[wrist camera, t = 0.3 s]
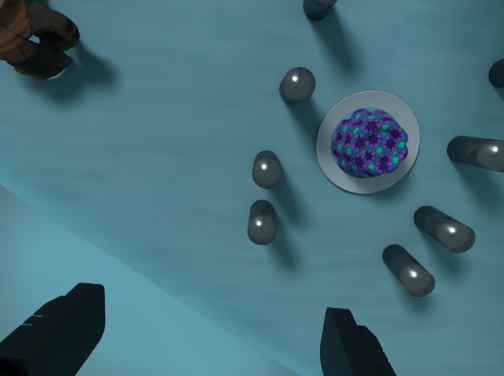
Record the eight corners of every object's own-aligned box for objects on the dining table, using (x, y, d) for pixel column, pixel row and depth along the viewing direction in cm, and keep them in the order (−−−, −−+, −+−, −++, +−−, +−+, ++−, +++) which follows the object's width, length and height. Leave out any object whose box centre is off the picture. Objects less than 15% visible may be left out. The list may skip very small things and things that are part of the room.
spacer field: (309, -15, 33) (320, -47, 26) (522, 64, 34) (586, 52, 28) (232, 213, 40) (225, 234, 33) (414, 273, 41) (444, 305, 34)
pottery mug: (12, 85, 37) (-72, 37, 30) (36, 18, 39) (-36, -43, 32) (94, 86, 34) (24, 31, 26) (116, 13, 36) (57, -58, 28)
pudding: (396, 201, 39) (416, 215, 34) (303, 179, 39) (309, 189, 34) (432, 104, 36) (460, 103, 31) (331, 80, 36) (343, 74, 31)
